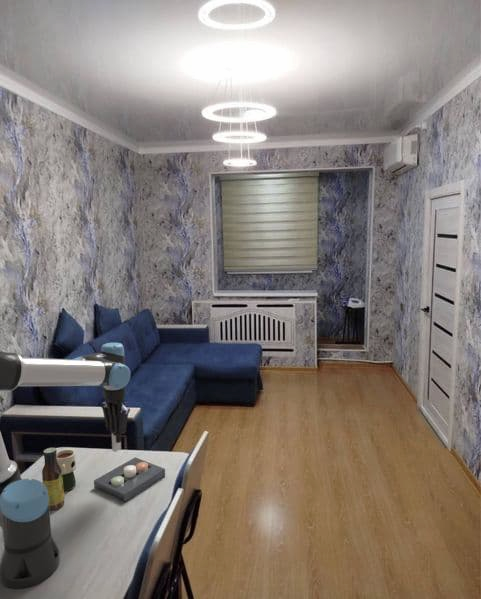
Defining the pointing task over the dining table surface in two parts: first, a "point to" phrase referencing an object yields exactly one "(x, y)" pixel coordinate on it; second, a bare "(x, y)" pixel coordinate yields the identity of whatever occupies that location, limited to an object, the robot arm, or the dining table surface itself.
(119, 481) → the sage button
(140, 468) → the terracotta button
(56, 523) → the dining table surface
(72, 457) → the character mug
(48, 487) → the sauce bottle
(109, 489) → the panel
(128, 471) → the cream button
